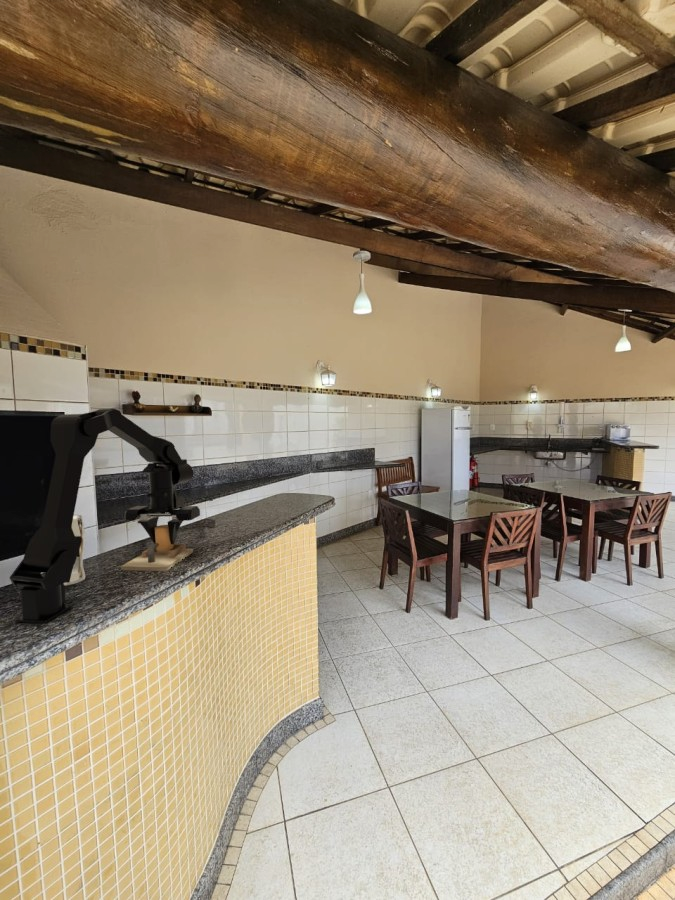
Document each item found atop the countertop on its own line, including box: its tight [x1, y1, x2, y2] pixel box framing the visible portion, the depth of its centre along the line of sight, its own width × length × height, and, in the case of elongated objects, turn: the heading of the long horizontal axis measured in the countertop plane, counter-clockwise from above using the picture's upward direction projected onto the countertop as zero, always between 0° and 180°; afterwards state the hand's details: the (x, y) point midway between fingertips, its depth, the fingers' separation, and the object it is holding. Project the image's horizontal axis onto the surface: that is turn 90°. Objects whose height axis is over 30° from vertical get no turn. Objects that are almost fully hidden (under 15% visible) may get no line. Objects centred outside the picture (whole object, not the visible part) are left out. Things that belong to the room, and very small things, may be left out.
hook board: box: [120, 543, 194, 572], centre depth 105 cm, size 14×12×5 cm
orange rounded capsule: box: [155, 524, 173, 551], centre depth 108 cm, size 4×4×6 cm
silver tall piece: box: [63, 514, 86, 587], centre depth 92 cm, size 7×7×15 cm
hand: (164, 544), depth 108 cm, fingers closed on orange rounded capsule, 4 cm apart
